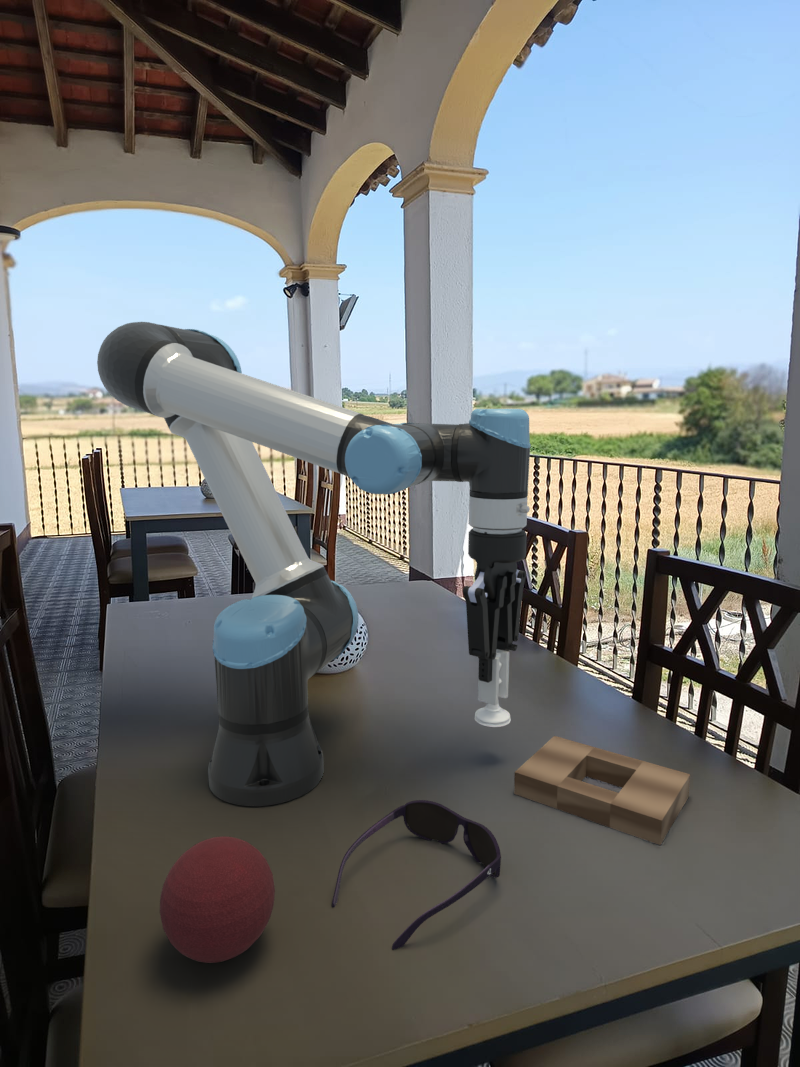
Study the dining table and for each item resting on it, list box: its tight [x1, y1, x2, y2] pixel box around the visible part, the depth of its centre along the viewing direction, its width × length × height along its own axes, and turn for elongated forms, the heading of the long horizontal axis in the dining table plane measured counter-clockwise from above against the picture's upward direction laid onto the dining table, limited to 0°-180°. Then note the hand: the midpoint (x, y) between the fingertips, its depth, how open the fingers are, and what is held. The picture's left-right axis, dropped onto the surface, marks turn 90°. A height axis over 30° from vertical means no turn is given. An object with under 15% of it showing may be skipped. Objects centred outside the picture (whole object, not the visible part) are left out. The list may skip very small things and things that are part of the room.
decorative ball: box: [159, 835, 276, 964], centre depth 61 cm, size 10×10×10 cm
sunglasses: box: [331, 799, 502, 951], centre depth 69 cm, size 14×16×5 cm
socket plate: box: [513, 735, 691, 846], centre depth 86 cm, size 12×18×3 cm, turn 53°
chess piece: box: [474, 650, 511, 728], centre depth 93 cm, size 5×5×10 cm
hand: (493, 698), depth 93 cm, fingers closed on chess piece, 2 cm apart
